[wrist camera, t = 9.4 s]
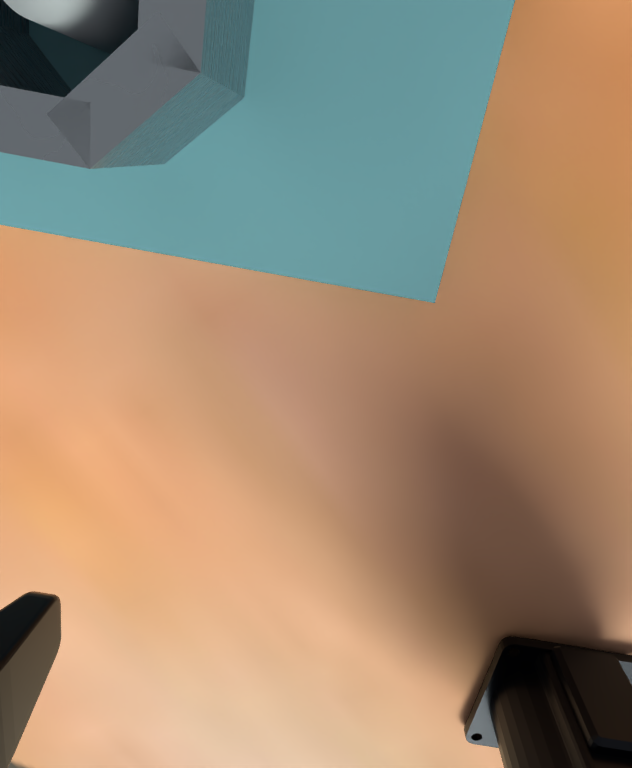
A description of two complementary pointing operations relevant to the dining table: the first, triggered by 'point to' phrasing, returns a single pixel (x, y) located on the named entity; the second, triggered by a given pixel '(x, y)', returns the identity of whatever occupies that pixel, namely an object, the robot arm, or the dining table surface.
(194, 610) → the dining table surface
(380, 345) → the dining table surface
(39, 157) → the block
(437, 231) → the shaft base
